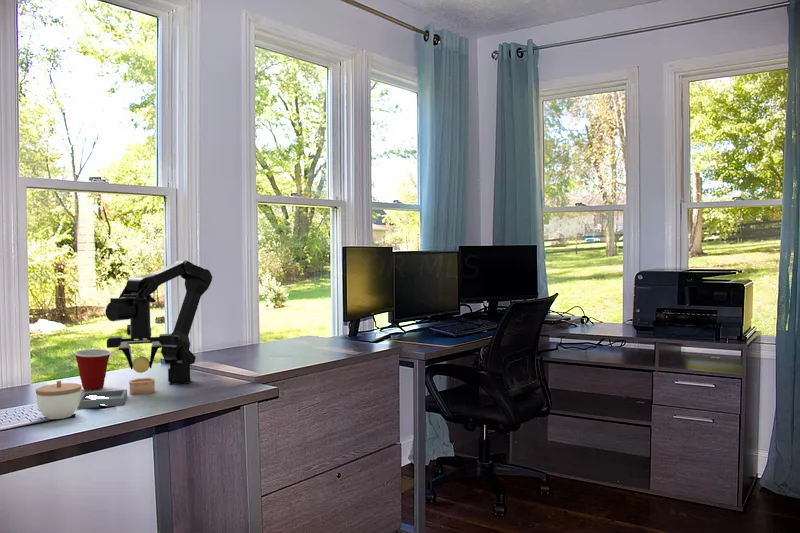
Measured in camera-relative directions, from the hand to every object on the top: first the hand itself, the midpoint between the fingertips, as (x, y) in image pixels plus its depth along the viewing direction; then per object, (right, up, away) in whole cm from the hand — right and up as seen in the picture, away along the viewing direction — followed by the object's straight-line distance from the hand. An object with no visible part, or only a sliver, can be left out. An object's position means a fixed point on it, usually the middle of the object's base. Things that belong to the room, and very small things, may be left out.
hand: (141, 368), depth 198 cm
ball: (0, -1, 0) cm, 1 cm away
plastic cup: (-18, -8, +6) cm, 20 cm away
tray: (-6, -8, -12) cm, 16 cm away
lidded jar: (-11, -9, -27) cm, 31 cm away
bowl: (0, -7, 0) cm, 7 cm away
